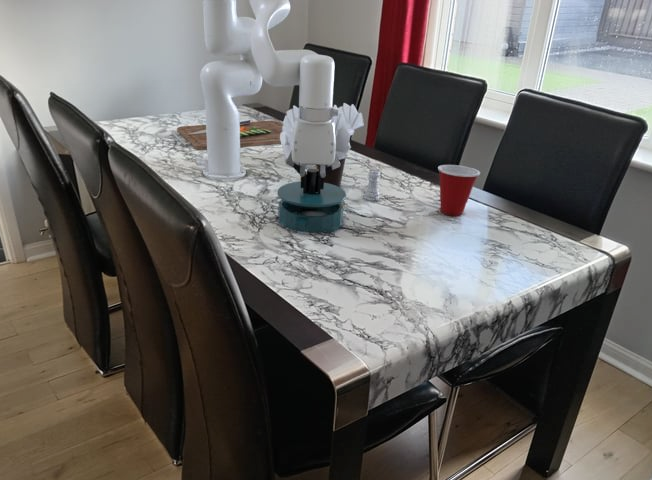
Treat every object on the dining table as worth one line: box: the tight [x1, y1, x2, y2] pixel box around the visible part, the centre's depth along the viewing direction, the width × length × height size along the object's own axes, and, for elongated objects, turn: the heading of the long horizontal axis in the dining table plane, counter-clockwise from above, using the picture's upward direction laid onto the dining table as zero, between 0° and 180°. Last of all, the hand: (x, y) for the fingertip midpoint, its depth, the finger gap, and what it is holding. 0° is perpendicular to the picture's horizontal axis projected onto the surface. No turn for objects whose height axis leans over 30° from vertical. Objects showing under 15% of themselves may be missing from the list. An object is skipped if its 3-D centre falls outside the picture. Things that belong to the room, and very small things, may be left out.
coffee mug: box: [315, 151, 347, 188], centre depth 163 cm, size 12×9×10 cm
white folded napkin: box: [280, 102, 365, 159], centre depth 185 cm, size 18×18×25 cm
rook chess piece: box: [363, 168, 381, 202], centre depth 158 cm, size 4×4×8 cm
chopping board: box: [171, 119, 283, 151], centre depth 208 cm, size 45×27×3 cm, turn 117°
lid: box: [277, 168, 347, 207], centre depth 138 cm, size 17×17×7 cm
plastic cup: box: [437, 164, 481, 217], centre depth 151 cm, size 11×11×12 cm
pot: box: [277, 199, 344, 234], centre depth 142 cm, size 16×21×4 cm
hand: (311, 190), depth 139 cm, fingers closed on lid, 2 cm apart
